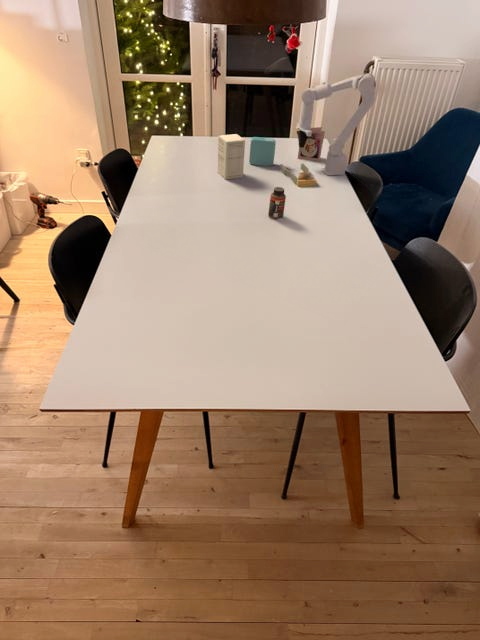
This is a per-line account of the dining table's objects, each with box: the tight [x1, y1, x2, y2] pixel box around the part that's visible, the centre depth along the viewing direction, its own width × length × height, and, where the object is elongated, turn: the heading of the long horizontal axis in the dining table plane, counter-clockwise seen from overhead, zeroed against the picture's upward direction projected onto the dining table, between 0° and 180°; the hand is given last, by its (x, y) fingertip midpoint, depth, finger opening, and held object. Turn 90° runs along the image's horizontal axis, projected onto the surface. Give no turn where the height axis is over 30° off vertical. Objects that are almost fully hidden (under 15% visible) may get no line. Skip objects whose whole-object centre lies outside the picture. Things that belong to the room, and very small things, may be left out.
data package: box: [248, 136, 276, 167], centre depth 213 cm, size 12×4×12 cm, turn 87°
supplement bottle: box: [267, 186, 287, 220], centre depth 168 cm, size 6×6×11 cm
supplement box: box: [217, 133, 246, 180], centre depth 197 cm, size 10×9×17 cm
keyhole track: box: [279, 163, 317, 187], centre depth 205 cm, size 21×12×2 cm, turn 15°
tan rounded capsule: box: [297, 171, 311, 180], centre depth 200 cm, size 5×5×4 cm
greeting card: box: [297, 126, 326, 163], centre depth 223 cm, size 11×7×15 cm, turn 77°
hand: (301, 147), depth 211 cm, fingers closed
